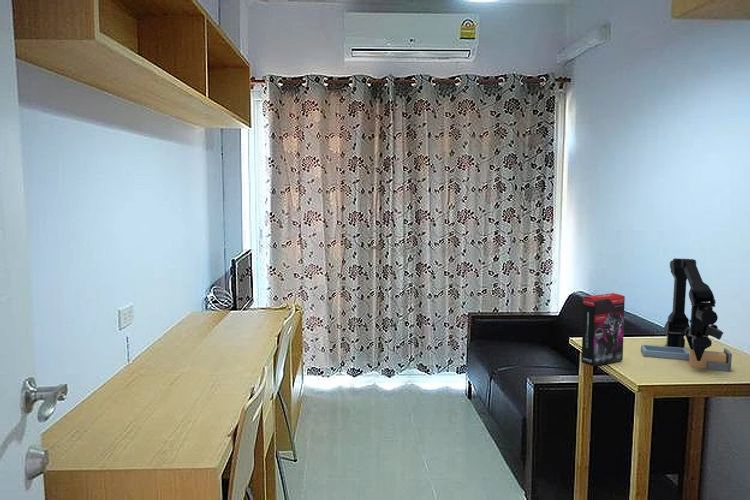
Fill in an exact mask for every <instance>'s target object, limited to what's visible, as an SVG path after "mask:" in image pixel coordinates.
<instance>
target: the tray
mask: <svg viewBox="0 0 750 500" xmlns="http://www.w3.org/2000/svg"><path fill="white" fill-rule="evenodd" d="M640 351H641V353H642V356H643V357H645V358H658V359H667V360H678V361H689V356H690V352H689V351H688V350H687V349H686V348H678V347H666V346H663V345H662V346H661V345H653V344H640Z"/></svg>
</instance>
